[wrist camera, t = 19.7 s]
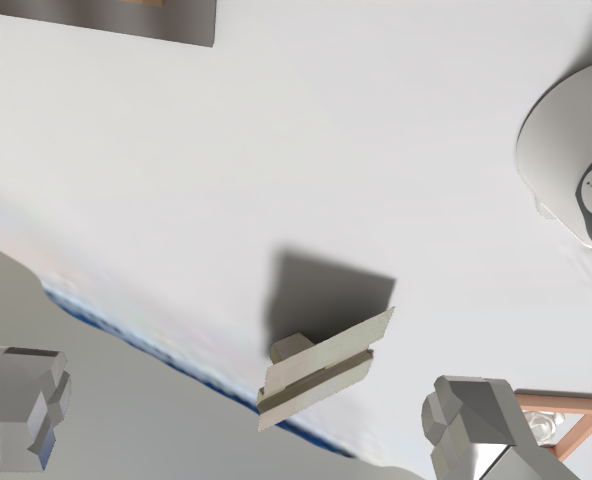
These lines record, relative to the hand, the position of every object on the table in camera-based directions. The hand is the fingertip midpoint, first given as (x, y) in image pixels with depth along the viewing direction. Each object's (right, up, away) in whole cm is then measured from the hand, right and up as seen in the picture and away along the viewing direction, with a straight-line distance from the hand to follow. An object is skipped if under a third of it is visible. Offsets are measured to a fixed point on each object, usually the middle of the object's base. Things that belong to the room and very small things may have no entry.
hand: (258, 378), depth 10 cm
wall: (+4, -10, +52) cm, 53 cm away
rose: (+39, -25, +66) cm, 81 cm away
